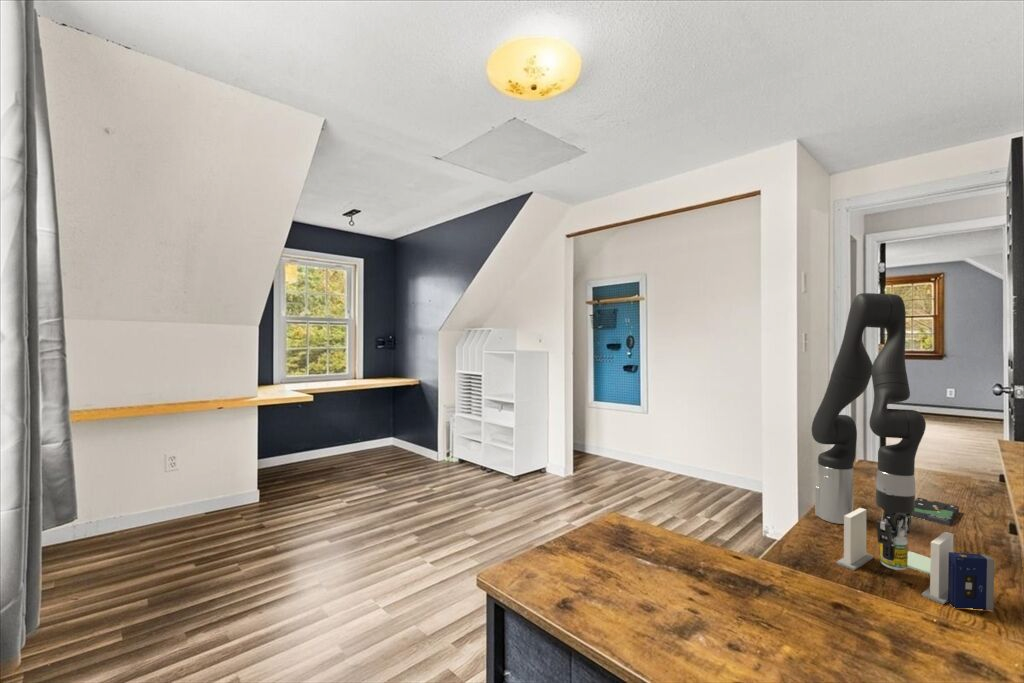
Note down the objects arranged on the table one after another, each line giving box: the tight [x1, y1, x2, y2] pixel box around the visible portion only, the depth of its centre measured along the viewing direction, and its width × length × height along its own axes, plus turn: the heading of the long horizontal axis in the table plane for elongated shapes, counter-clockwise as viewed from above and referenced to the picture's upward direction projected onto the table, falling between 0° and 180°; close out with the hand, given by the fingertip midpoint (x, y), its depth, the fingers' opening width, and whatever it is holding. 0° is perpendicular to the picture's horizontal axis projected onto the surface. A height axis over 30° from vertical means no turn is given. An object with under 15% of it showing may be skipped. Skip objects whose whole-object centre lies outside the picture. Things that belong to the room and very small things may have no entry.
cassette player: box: [947, 551, 995, 612], centre depth 103 cm, size 7×2×12 cm, turn 78°
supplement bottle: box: [879, 528, 909, 571], centre depth 117 cm, size 5×5×10 cm
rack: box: [836, 507, 955, 605], centre depth 116 cm, size 22×11×13 cm, turn 32°
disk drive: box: [912, 497, 960, 527], centre depth 151 cm, size 10×3×15 cm
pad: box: [907, 550, 931, 576], centre depth 121 cm, size 9×9×1 cm
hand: (893, 555), depth 117 cm, fingers closed on supplement bottle, 5 cm apart
